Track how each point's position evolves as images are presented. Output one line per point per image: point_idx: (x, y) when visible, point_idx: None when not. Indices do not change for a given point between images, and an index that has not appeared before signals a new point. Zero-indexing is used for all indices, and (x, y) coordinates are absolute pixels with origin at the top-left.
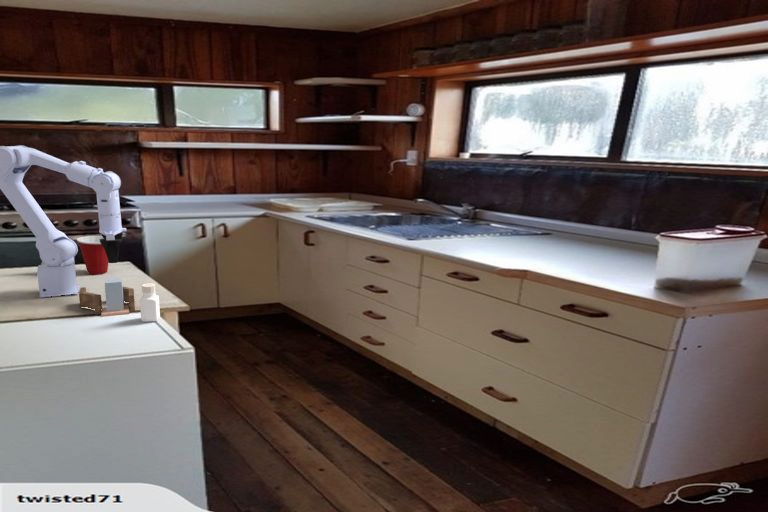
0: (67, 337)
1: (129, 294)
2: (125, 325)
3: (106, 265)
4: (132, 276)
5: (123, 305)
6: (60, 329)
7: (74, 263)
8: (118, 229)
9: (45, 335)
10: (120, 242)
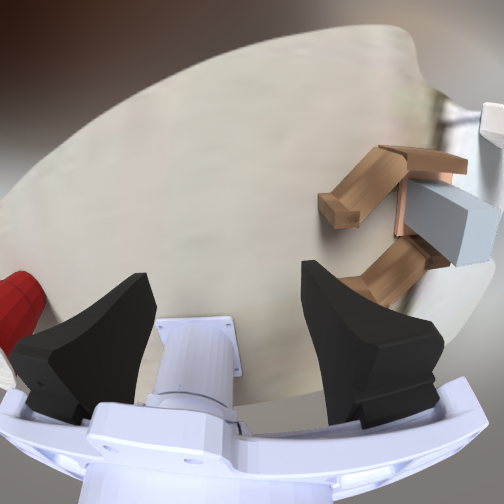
0: (494, 269)
1: (458, 171)
2: (497, 178)
3: (15, 281)
4: (42, 194)
5: (442, 182)
6: (462, 289)
7: (182, 390)
8: (298, 489)
9: (471, 302)
10: (433, 325)
